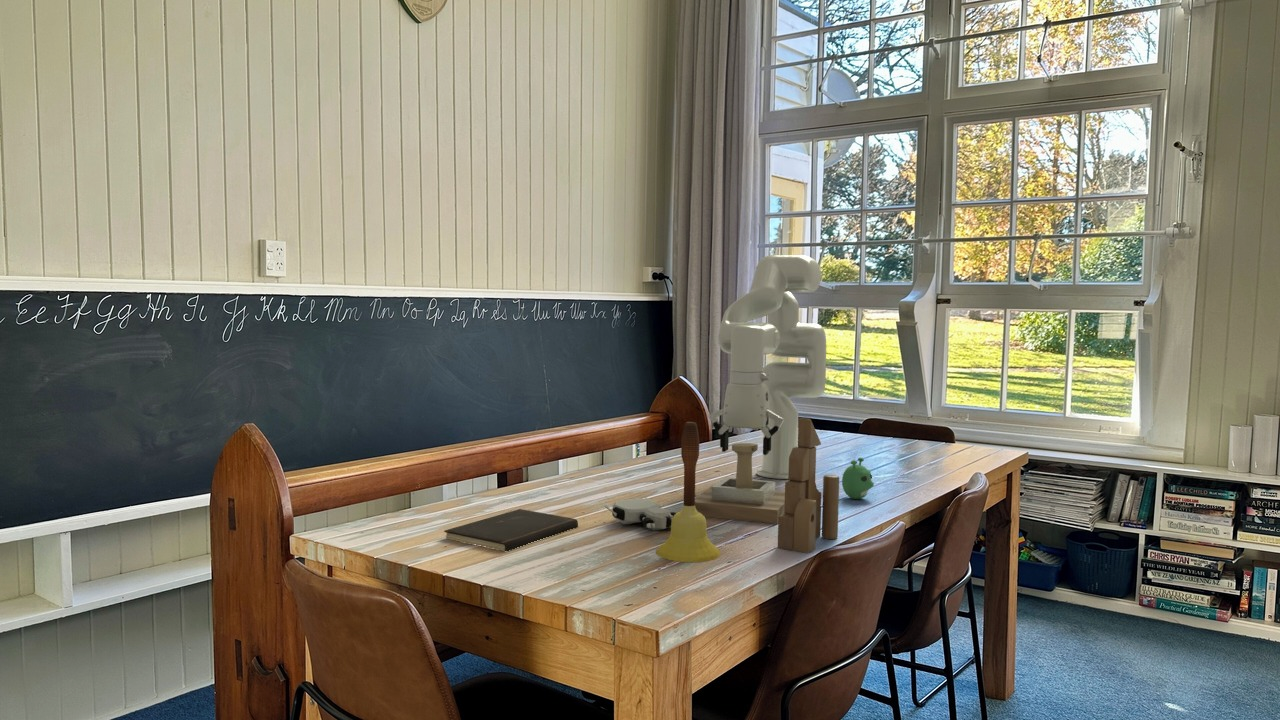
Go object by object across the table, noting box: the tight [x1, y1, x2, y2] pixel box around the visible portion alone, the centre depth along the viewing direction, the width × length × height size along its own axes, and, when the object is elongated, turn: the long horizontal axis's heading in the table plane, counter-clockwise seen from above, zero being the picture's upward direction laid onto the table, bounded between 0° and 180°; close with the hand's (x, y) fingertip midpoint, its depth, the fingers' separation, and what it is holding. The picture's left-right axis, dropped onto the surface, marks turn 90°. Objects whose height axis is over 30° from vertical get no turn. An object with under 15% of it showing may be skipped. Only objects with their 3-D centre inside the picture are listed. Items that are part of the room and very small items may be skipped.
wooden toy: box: [777, 417, 840, 554], centre depth 176 cm, size 16×7×25 cm, turn 145°
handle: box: [731, 442, 759, 489], centre depth 204 cm, size 5×6×15 cm
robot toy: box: [603, 497, 677, 531], centre depth 189 cm, size 12×4×15 cm
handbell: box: [655, 421, 722, 563], centre depth 167 cm, size 12×12×25 cm
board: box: [695, 486, 785, 525], centre depth 204 cm, size 20×20×3 cm
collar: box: [711, 477, 776, 505], centre depth 204 cm, size 12×12×3 cm
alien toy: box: [841, 457, 875, 500], centre depth 217 cm, size 7×8×10 cm
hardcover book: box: [443, 508, 579, 552], centre depth 180 cm, size 16×23×2 cm
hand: (745, 452), depth 204 cm, fingers open, 9 cm apart
